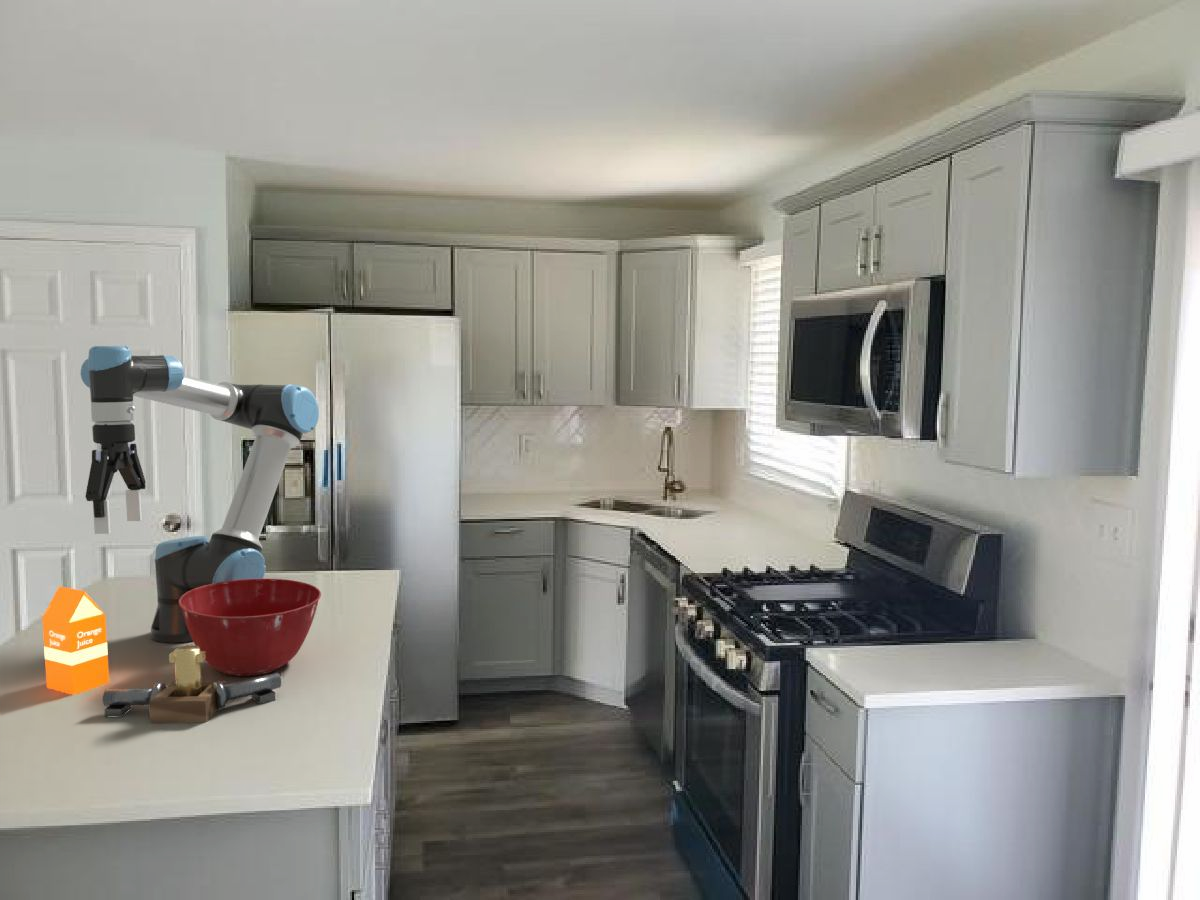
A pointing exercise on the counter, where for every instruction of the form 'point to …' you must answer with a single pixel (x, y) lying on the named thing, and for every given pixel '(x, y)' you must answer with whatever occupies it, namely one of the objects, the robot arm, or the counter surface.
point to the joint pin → (187, 670)
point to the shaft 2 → (247, 689)
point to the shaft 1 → (128, 699)
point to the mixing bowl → (250, 622)
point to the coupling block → (183, 705)
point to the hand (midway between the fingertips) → (119, 527)
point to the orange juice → (74, 642)
